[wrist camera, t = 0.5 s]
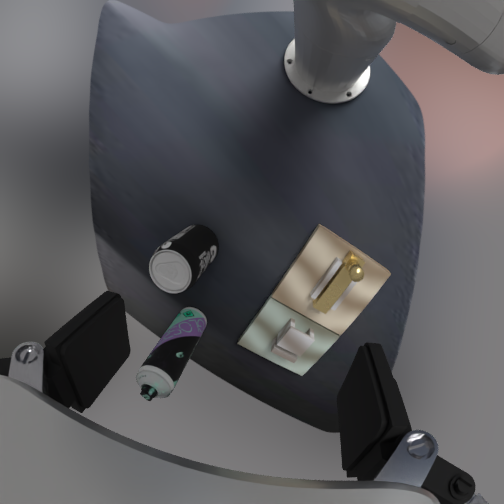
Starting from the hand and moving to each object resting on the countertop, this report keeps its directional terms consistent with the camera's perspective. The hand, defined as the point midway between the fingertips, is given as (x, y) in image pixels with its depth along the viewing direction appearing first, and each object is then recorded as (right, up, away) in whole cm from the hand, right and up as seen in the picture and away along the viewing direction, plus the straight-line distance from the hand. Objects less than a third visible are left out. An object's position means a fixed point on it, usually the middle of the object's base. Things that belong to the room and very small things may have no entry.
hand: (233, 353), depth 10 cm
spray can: (-10, -9, +39) cm, 41 cm away
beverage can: (-8, +5, +34) cm, 35 cm away
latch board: (+10, -6, +35) cm, 37 cm away
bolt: (+14, -1, +31) cm, 34 cm away
